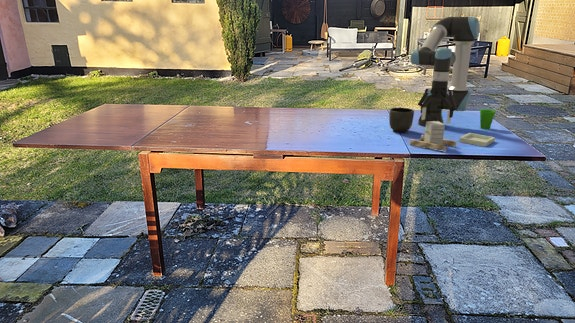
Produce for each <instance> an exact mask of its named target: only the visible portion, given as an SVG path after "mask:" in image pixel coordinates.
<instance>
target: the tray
mask: <svg viewBox="0 0 575 323" xmlns="http://www.w3.org/2000/svg"><path fill="white" fill-rule="evenodd" d="M495 140H496V137H494V136H489V135H483V134H479V133H472V132H468V133H466V134H464V135H462V136H460V137H459V139H458V143H462V144H468V145H472V144H473V145H472V146H477V145H478V146H479V147H483V148H486V147H487V146H488V147H489V145H491V144H493V143H494V142H495Z"/></svg>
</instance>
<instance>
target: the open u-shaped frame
mask: <svg viewBox="0 0 575 323" xmlns="http://www.w3.org/2000/svg"><path fill="white" fill-rule="evenodd" d="M424 137H425V134H421V136H420V139H412V138H411V139H410V141H409V143H410V144H409V145H410V146H411V145H412V147H416V146H418V147H417V148H421V147H425V148H424V149H426V148H431V149H437V150H443V151H446V152H447V148H448V147H450V146H453V147H452V148H456V147H457V140H456V141H455V140H451V139H447V138H443V145H438V144H433V143H428V142H424ZM445 145H448V146H445ZM455 146H456V147H455Z"/></svg>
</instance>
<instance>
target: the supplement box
mask: <svg viewBox="0 0 575 323" xmlns="http://www.w3.org/2000/svg"><path fill="white" fill-rule="evenodd" d="M445 126H446V124H445V123H444V122H443V123H441V122H439V121H428V122H426V126H425V129H424V135H425V137H424V141H423V142H428V143H433V144H438V145H442V144H443V139H444V136H445V128H446V127H445Z"/></svg>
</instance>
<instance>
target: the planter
mask: <svg viewBox="0 0 575 323" xmlns="http://www.w3.org/2000/svg"><path fill="white" fill-rule="evenodd" d="M414 115H415V110H414V109H413V108H410V107H391V108H390V109H389V115H388V116H389V118H388V122H389V127H390V129H392V132H394V133H398V134H399V133H401V134H403V133H404V134H405V133H407V132H408V131H409V130H410V129H411V128H412V125H413V120H414Z"/></svg>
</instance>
